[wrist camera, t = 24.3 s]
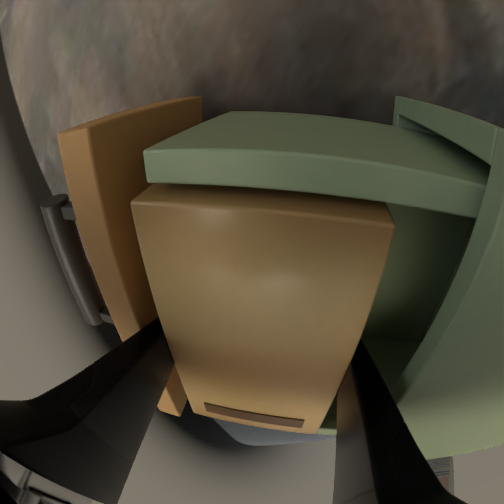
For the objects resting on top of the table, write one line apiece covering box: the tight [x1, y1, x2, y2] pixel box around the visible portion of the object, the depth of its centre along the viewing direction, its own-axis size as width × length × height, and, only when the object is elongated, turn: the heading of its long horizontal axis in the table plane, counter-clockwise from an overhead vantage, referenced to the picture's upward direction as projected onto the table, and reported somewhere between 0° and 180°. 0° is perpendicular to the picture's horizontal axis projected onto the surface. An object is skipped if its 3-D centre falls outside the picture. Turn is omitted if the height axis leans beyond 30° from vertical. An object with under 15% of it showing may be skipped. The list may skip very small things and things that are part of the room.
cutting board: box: [130, 183, 396, 434], centre depth 9 cm, size 10×6×3 cm, turn 1°
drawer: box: [41, 96, 491, 435], centre depth 11 cm, size 20×13×7 cm
